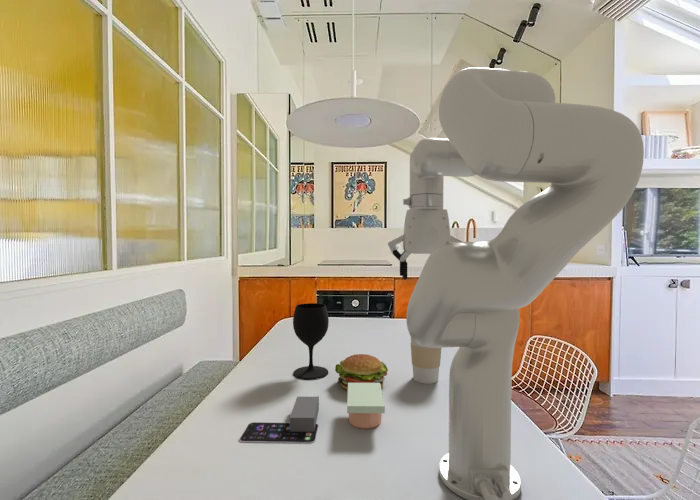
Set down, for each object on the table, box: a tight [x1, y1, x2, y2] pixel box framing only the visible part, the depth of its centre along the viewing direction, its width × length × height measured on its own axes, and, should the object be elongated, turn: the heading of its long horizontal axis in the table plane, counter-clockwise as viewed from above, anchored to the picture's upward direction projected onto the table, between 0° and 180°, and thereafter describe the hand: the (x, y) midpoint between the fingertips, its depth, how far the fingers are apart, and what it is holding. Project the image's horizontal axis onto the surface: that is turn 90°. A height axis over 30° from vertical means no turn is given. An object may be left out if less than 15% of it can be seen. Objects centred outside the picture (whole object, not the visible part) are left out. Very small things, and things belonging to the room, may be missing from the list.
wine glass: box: [292, 302, 330, 381], centre depth 106 cm, size 10×10×20 cm
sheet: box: [346, 383, 386, 414], centre depth 78 cm, size 12×8×1 cm, turn 0°
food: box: [335, 353, 389, 391], centre depth 98 cm, size 14×14×8 cm
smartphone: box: [239, 421, 320, 444], centre depth 73 cm, size 8×1×15 cm
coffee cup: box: [410, 336, 442, 384], centre depth 102 cm, size 9×9×15 cm
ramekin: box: [348, 413, 382, 430], centre depth 78 cm, size 7×7×4 cm
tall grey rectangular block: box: [289, 396, 320, 432], centre depth 78 cm, size 10×5×3 cm, turn 179°
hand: (425, 279), depth 83 cm, fingers open, 9 cm apart
